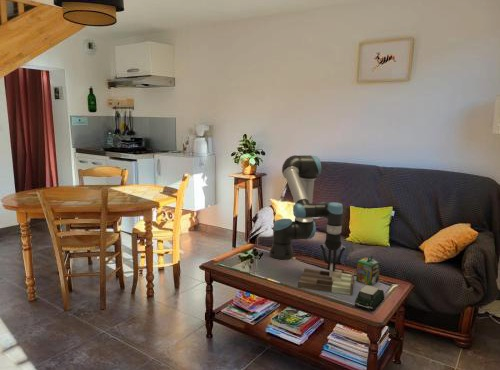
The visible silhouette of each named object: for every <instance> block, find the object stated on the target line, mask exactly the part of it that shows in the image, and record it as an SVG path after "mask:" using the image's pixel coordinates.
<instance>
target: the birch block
mask: <svg viewBox="0 0 500 370" xmlns="http://www.w3.org/2000/svg"><path fill="white" fill-rule="evenodd" d="M342 273H343V271H342V270H339V269H335V271H333V272H332V281H338V282H341V275H342Z"/></svg>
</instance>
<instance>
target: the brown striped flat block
mask: <svg viewBox="0 0 500 370" xmlns="http://www.w3.org/2000/svg"><path fill="white" fill-rule="evenodd" d="M355 270H356V269H352V272H351V274H349V273H343V272H342V275H341V282H338V281H332V277H329V274H330V270H320V269H319V270H318V269H315V268H314V269H312V268H304V270H303V271H302V274H301V275H300V278H299V279H298V281H297V282H298V283H297V288H303V289H309V290H315V291H322V292H328V293H333V294H334V293H335V294H343V295H348V296H353V291H354V282H355Z"/></svg>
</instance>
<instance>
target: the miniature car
mask: <svg viewBox="0 0 500 370" xmlns="http://www.w3.org/2000/svg"><path fill="white" fill-rule="evenodd" d="M383 300H384V301H385V291H384V290H383V289H380V288H378V287H376V286H373V285H371V286H370V285H368V284H365V285H364V286H363V287H361V289H359V291H358V293H357V296H356V298H355V301H354V306H356V307H358V306H361V307H364V308H367V309H370V310H371V311H373V310H374V311H375V310H376V308H377V306H378V304H380V303H381V302H384V301H383Z"/></svg>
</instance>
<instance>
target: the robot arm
mask: <svg viewBox="0 0 500 370" xmlns="http://www.w3.org/2000/svg"><path fill="white" fill-rule="evenodd" d="M281 172H282V176H283V178H284V179H286V183H287V184H288V187H289V191H290V194H291V196H292V198H293V201H294V204H293V207H292V214H293V216H294V221H293V220H292V219H291V218H279V219H276V220H275V221H274V222H273V227H272V230H273V231H272V232H273V233H272V236H273V237H272V245H271V247H270V250H269V256H270V257H271V258H273V259H275V260H290V259H292V258H294V250H293V246H292V240H293V241H294V240H295V241H296V240H312V239H313V238H314V237H315V235H316V233H317V232H316V231H317V227H316V221H314V218H326V230H325V231H326V234H325V241H324V243H321V244H320V248H321V251H322V256H323V263H325V264H327V271H329V272H330V274H329V277H332V272H333V271H335V270H336V265H339V264H340V261H341V258H342V255H343V252H344V251H345V250H346V246H344V245H343V244H342V242H341V241H342V229H343V213H344V212H343V211H344V210H343V208H344V207H343V205H344V204H342V203H340V202H335V201H334V202H331V201H330V202H327V201H322V202H320V203H319V202H318V203H313V200H314V188H315V180H317V179H318V176H319V175H321V173H322V164H321V160H320V158H319V157H318V156H316V155H311V154H310V155H305V154H304V155H291V156H289V157H287V159H285V161H284V162H283V164H282V167H281ZM326 248H327V249H328V256H327V252H326ZM339 249H340V252H339V254H338V257H337V251H338V250H339ZM332 251H333V255H332ZM332 256H333V257H332ZM327 257H328V258H327ZM331 262H332V263H331Z"/></svg>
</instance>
